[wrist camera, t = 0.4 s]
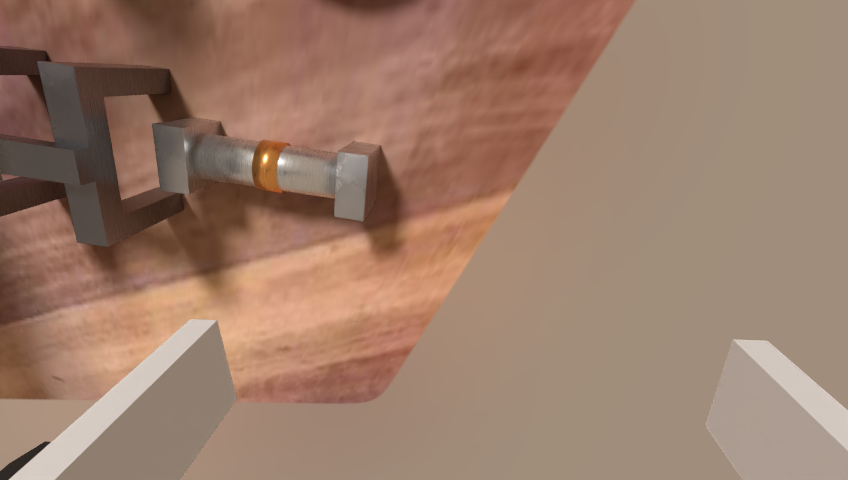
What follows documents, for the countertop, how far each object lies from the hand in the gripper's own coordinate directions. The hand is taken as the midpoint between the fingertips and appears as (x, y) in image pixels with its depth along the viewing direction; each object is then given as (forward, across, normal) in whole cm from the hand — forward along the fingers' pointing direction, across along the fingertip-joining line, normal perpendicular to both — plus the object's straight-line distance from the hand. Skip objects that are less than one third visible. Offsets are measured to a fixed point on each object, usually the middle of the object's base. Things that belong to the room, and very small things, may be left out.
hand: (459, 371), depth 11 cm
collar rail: (+20, -27, +4) cm, 34 cm away
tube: (+21, -13, +2) cm, 25 cm away
